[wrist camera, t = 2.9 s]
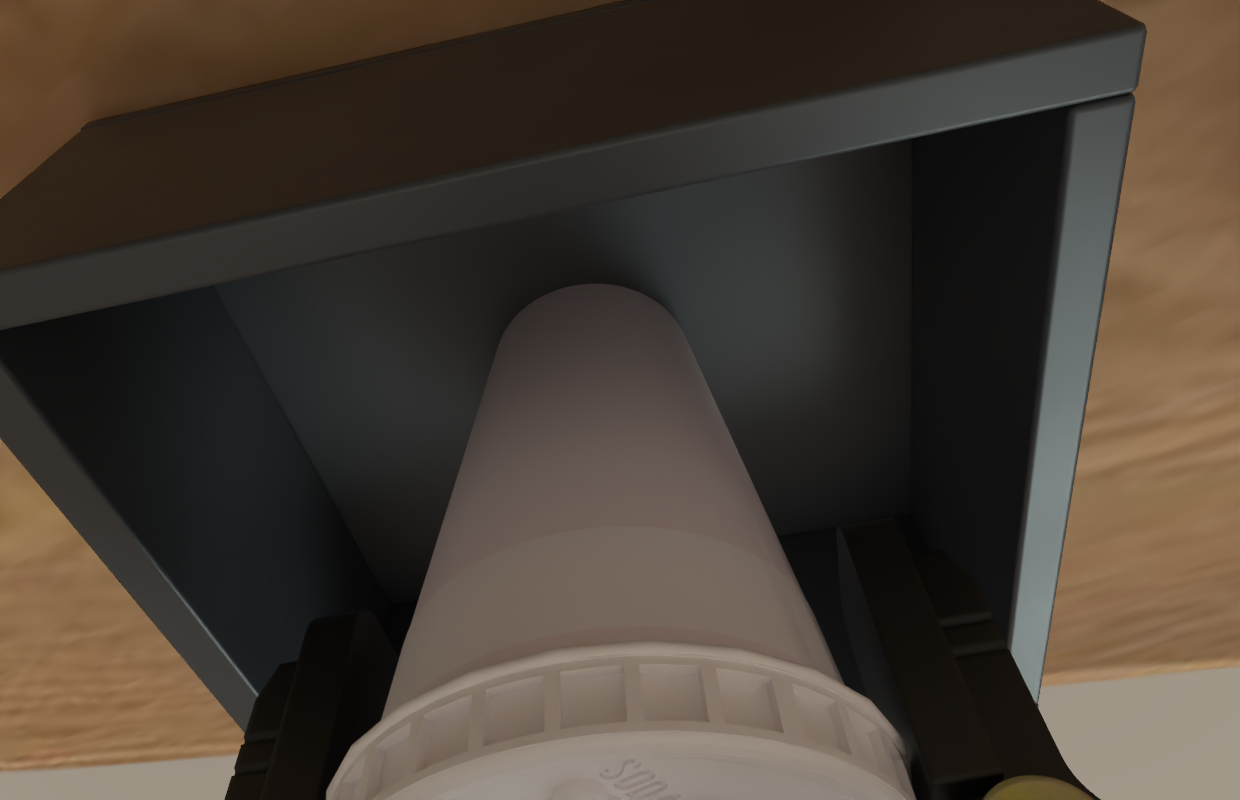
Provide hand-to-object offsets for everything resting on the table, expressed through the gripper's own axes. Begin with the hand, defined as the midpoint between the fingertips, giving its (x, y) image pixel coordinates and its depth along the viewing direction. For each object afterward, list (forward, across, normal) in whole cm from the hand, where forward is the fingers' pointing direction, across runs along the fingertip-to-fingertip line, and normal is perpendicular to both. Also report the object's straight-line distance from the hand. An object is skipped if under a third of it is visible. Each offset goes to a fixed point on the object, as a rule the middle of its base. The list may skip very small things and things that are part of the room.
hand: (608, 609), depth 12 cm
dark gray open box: (+6, 0, 0) cm, 6 cm away
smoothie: (+6, 0, 0) cm, 6 cm away
